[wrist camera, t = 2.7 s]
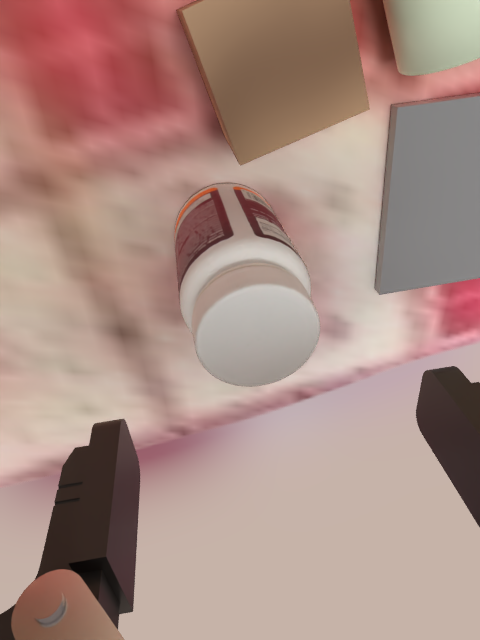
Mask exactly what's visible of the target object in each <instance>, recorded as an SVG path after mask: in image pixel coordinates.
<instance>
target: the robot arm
mask: <svg viewBox="0 0 480 640" xmlns="http://www.w3.org/2000/svg"><path fill="white" fill-rule="evenodd" d="M416 418H417V423H418V426H419V429H420V431H421V433H422V435H423V436H424V438H425V439H426V441H427V443H428V444H429V446H430V447H431V449H432V451H433V453H434V454H435V456H436V457H437V459H438V461H439V462H440V464H441V465H442V467H443V469H444V470H445V472H446V473H447V475H448V477H449V478H450V480H451V482H452V483H453V485H454V487H455V488H456V490H457V491H458V493H459V494H460V496H461V498H462V499H463V501H464V503H465V504H466V506H467V508H468V509H469V511H470V512H471V514H472V516H473V517H474V519H475V520H476V522H477V524H478V525H479V527H480V383H479V382H476V383H470V381H469V380H468V379H467V378H466V377H465V376H464V374H463V373H462V372H461V371H460V370H459V369H458V368H457V367H455V366H451V367H445V368H439V369H433V370H427V371H425V372H424V374H423V377H422V382H421V388H420V393H419V398H418V403H417V409H416ZM58 486H59V490H57V494H56V498H55V506H54V507H53V512H52V516H51V520H50V525H49V529H48V533H47V538H46V542H45V546H44V551H43V555H42V560H41V564H40V568H39V571H38V574H37V576H36V578H35V580H34V581H33V582H32V583H31V584H30V585H29V586H28V587H27V588H26V589H25V590H24V592H23V593H22V594H21V596H20V597H19V599H18V601H17V603H16V604H15V605H14V606H12V607H11V608H10V609H8V610H7V611H5V612H4V613H2V614H0V640H124V638H123V637H122V635H121V634H120V633H119V631H118V620H119V614H122V613H128V612H133V601H134V582H135V564H136V547H137V527H138V509H139V491H140V468H139V461H138V457H137V454H136V451H135V448H134V445H133V442H132V439H131V436H130V433H129V430H128V427H127V424H126V421H125V420H124V419H119V420H113V421H107V422H101V423H95V424H94V425H93V428H92V433H91V438H90V444H89V446H83V447H77V448H75V449H74V450H73V452H72V453H71V455H70V456H69V458H68V459H67V461H66V462H65V464H64V465H63V468H62V472H61V477H60V481H59V485H58Z"/></svg>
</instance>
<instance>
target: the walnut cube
mask: <svg viewBox="0 0 480 640" xmlns="http://www.w3.org/2000/svg"><path fill="white" fill-rule="evenodd" d="M176 11H177V13H178V16H179V19H180V21H181V24H182V26H183V29H184V32H185V34H186V37H187V40H188V42H189V45H190V47H191V50H192V53H193V55H194V58H195V61H196V63H197V66H198V68H199V71H200V74H201V76H202V79H203V81H204V84H205V87H206V89H207V92H208V95H209V97H210V100H211V102H212V105H213V108H214V110H215V113H216V115H217V118H218V121H219V123H220V126H221V129H222V131H223V134H224V136H225V138H226V140H227V142H228V144H229V145H230V147H231V149H232V151H233V153H234V155H235V157H236V159H237V161H238V162H239V164H240V165H243V164H245V163H247V162H250V161H252V160H254V159H256V158H259V157H261V156H263V155H266V154H268V153H270V152H273V151H275V150H277V149H279V148H282V147H284V146H286V145H289V144H291V143H293V142H296V141H298V140H300V139H302V138H305V137H307V136H309V135H312V134H314V133H316V132H318V131H321V130H323V129H325V128H328V127H330V126H332V125H335V124H337V123H339V122H341V121H344V120H346V119H348V118H351V117H353V116H355V115H358V114H360V113H362V112H364V111H367V110H369V109H370V108H369V102H368V97H367V91H366V86H365V81H364V75H363V70H362V64H361V59H360V53H359V48H358V43H357V37H356V32H355V26H354V21H353V15H352V10H351V4H350V0H197V1H194V2H192V3H190V4H188V5H186V6H184V7H182V8H180V9H178V10H176Z"/></svg>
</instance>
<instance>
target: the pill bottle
mask: <svg viewBox="0 0 480 640" xmlns="http://www.w3.org/2000/svg"><path fill="white" fill-rule="evenodd" d="M174 239H175V252H176V263H177V276H178V286H179V300H180V308H181V314H182V316H183V319H184V321H185V323H186V325H187V327H188V328H189V330H190V331H191V333H192V334H193V337H194V343H195V349H196V353H197V356H198V358H199V360H200V362H201V363H202V365H203V366H204V368H205V369H206V370H207V371H208V372H209V373H210V374H212V375H213V376H214V377H216V378H218V379H219V380H221V381H224V382H226V383H229V384H233V385H237V386H260V385H266V384H270V383H273V382H276V381H279V380H281V379H283V378H285V377H287V376H289V375H291V374H292V373H294V372H295V371H296V370H298V369H299V368H300V367H301V366H302V365H303V364H304V363H305V362H306V361H307V360H308V359H309V357H310V356H311V354H312V353H313V351H314V349H315V347H316V345H317V343H318V339H319V334H320V320H319V316H318V313H317V311H316V308H315V306H314V304H313V302H312V300H311V298H310V296H311V283H310V277H309V274H308V270H307V268H306V266H305V264H304V262H303V261H302V259H301V257H300V256H299V254H298V253H297V251H296V249H295V248H294V246H293V244H292V243H291V241H290V239H289V238H288V236H287V235H286V233H285V231H284V230H283V227H282V226H281V224H280V222H279V221H278V219H277V217H276V215H275V214H274V212H273V210H272V208H271V207H270V205H269V204H268V203H267V201H266V200H265V199H264V198H263V197H262V196H261V195H260V194H259V193H257V192H256V191H254V190H252V189H250V188H248V187H245V186H242V185H238V184H216V185H211V186H209V187H206V188H204V189H202V190H201V191H199V192H198V193H196V194H195V195H193V196H192V197H191V198H190V199H189V200H188V201H187V202H186V203H185V205H184V206H183V208H182V209H181V211H180V213H179V215H178V217H177V220H176V224H175V231H174Z"/></svg>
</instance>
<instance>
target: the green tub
mask: <svg viewBox="0 0 480 640" xmlns="http://www.w3.org/2000/svg"><path fill="white" fill-rule="evenodd" d="M383 5H384V9H385V14H386V18H387V23H388V27H389V32H390V36H391V41H392V46H393V50H394V55H395V59H396V64H397V68H398V71H399V73H401V74H403V75H411V76H414V75H424V74H430V73H435V72H439V71H443V70H447V69H450V68H454V67H457V66H460V65H463V64H465V63H468V62H471V61H473V60H476V59H478V58H480V0H383Z"/></svg>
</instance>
